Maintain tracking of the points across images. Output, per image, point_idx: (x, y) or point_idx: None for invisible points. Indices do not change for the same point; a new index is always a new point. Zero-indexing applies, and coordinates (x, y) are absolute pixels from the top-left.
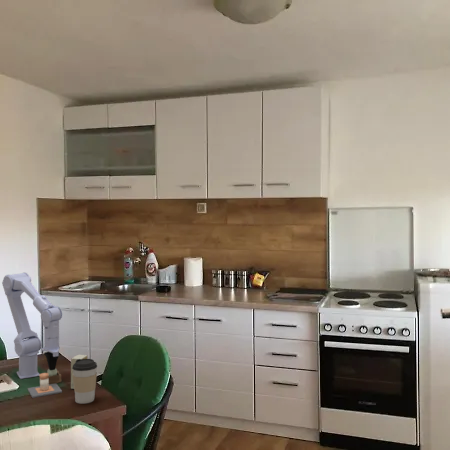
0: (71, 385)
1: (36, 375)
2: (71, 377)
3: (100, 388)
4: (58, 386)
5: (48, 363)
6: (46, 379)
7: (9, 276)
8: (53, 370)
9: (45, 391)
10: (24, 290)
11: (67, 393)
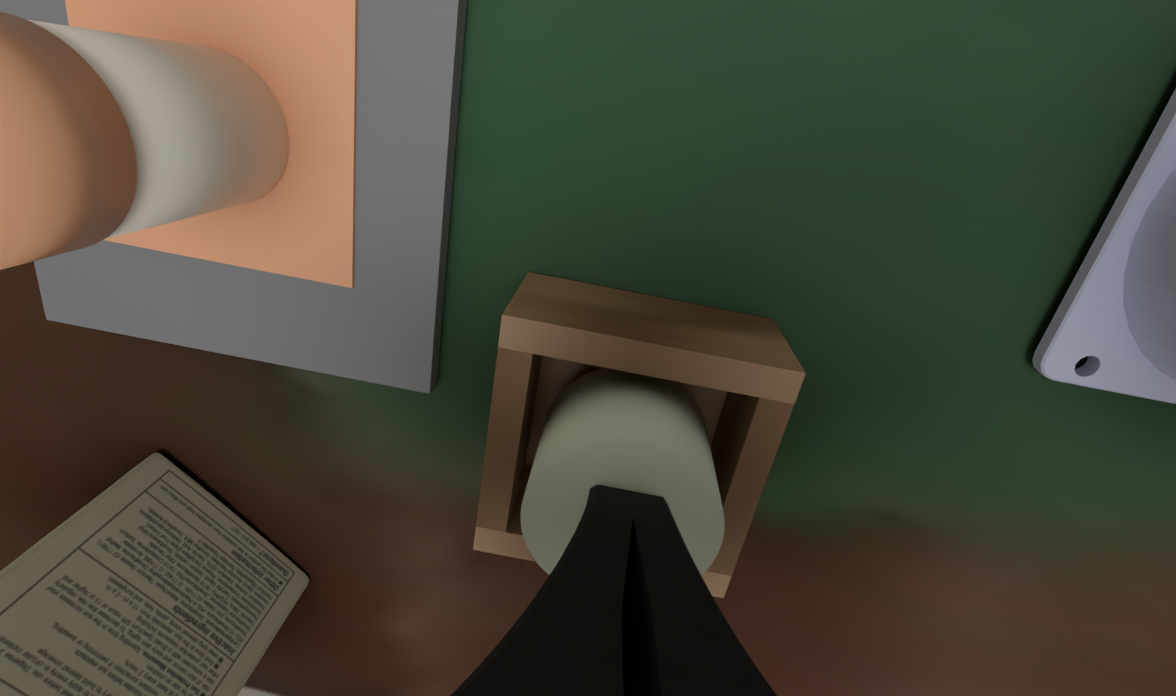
0: (115, 482)
1: (1064, 317)
2: (2, 571)
3: None
4: (266, 360)
5: (592, 585)
6: None
7: None
8: (558, 527)
9: None
10: None
11: (11, 350)
